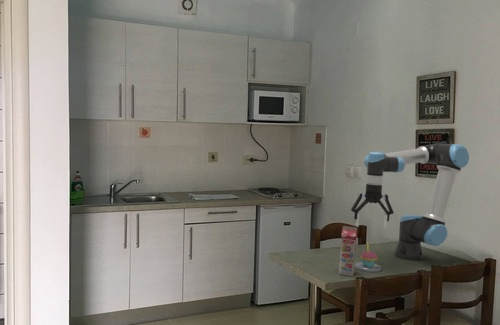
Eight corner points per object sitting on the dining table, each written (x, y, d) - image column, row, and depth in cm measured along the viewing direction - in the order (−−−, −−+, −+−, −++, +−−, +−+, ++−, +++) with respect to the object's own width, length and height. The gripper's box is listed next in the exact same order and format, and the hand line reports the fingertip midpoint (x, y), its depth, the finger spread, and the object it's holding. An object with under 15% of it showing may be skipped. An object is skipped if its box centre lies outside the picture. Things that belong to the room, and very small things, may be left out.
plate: (377, 265, 233) (377, 262, 233) (384, 273, 220) (384, 270, 220) (351, 263, 233) (351, 261, 233) (356, 271, 220) (357, 269, 220)
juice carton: (340, 269, 221) (343, 224, 220) (354, 271, 220) (357, 226, 218) (338, 273, 215) (342, 227, 214) (353, 275, 213) (356, 229, 212)
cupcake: (355, 263, 229) (357, 240, 228) (369, 262, 232) (371, 239, 231) (366, 269, 221) (368, 244, 220) (380, 268, 224) (382, 243, 224)
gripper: (397, 184, 227) (394, 226, 229) (347, 181, 228) (344, 223, 229) (402, 186, 220) (398, 230, 221) (350, 183, 220) (346, 227, 222)
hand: (370, 227), depth 225 cm, fingers open, 13 cm apart
